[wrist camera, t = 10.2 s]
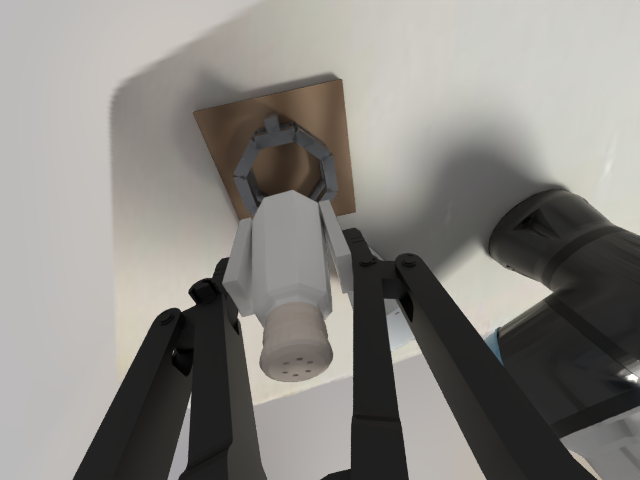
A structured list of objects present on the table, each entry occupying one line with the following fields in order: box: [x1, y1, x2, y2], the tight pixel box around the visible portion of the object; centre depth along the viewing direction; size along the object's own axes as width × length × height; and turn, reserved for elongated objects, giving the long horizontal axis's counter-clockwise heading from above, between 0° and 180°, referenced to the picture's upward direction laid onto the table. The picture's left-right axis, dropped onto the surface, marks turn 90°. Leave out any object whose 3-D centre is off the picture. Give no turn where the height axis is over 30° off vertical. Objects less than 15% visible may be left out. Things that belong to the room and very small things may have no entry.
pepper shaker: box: [252, 190, 333, 382], centre depth 13 cm, size 5×5×11 cm
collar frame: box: [233, 112, 338, 216], centre depth 27 cm, size 10×13×5 cm
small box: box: [348, 246, 415, 352], centre depth 36 cm, size 8×6×13 cm
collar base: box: [193, 79, 356, 220], centre depth 30 cm, size 16×16×1 cm
